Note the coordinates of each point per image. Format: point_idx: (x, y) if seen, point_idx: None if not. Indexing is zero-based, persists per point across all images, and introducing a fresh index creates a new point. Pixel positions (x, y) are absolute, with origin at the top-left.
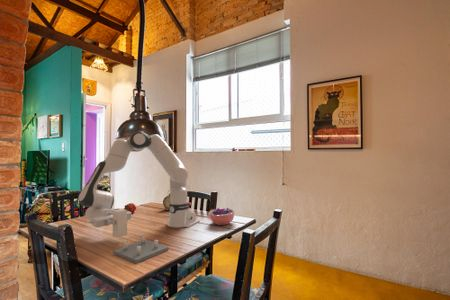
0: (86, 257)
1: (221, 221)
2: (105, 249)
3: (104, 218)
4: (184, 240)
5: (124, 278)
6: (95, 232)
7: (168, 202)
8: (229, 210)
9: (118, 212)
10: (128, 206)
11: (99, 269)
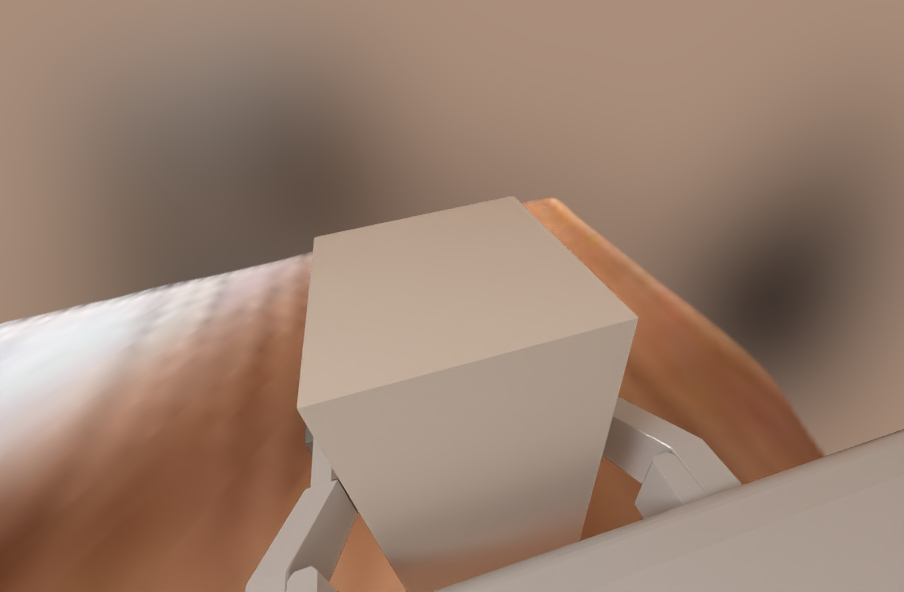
0: (764, 413)
1: None
2: (632, 493)
3: (838, 506)
4: (166, 348)
5: (551, 210)
6: None
7: None
8: None
9: (508, 206)
10: None
11: (637, 267)
